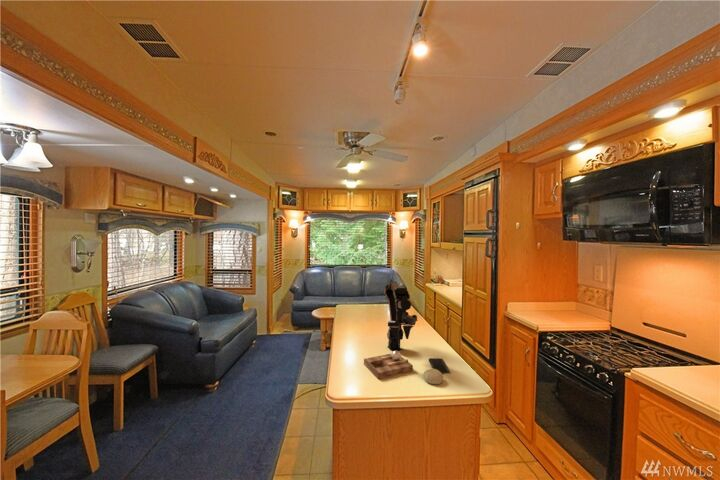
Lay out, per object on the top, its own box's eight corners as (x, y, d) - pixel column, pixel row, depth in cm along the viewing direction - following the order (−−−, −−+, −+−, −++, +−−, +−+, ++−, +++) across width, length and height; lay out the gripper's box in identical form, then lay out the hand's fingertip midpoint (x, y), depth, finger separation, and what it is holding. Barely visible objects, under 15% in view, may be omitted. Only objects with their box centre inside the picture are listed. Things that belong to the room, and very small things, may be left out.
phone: (442, 358, 151) (450, 372, 136) (442, 360, 151) (450, 374, 136) (428, 358, 151) (434, 371, 136) (428, 360, 151) (434, 373, 136)
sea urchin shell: (418, 372, 134) (430, 360, 134) (429, 382, 134) (440, 371, 135) (424, 382, 125) (437, 369, 125) (436, 393, 125) (448, 381, 126)
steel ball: (397, 357, 146) (397, 348, 146) (402, 361, 142) (402, 352, 142) (389, 359, 144) (389, 349, 144) (394, 363, 140) (394, 353, 140)
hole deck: (395, 357, 153) (395, 350, 152) (412, 371, 138) (412, 363, 138) (363, 364, 144) (363, 357, 144) (378, 379, 130) (378, 371, 130)
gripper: (404, 310, 139) (405, 342, 135) (422, 309, 152) (424, 339, 149) (386, 310, 146) (387, 341, 142) (405, 309, 160) (407, 337, 156)
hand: (402, 339), depth 147 cm, fingers open, 9 cm apart
